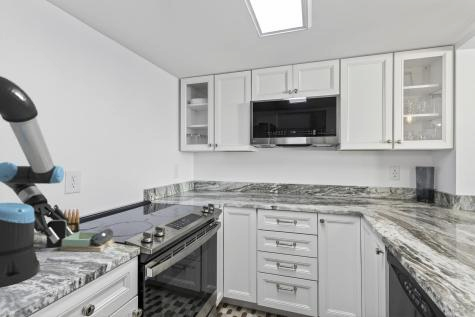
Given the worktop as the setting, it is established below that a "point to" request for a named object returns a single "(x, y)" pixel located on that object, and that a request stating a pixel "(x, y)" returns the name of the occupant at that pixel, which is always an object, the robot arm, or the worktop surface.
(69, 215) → the ammunition clip
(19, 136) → the robot arm
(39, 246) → the worktop surface
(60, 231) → the battery charger
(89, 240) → the mint green tray
